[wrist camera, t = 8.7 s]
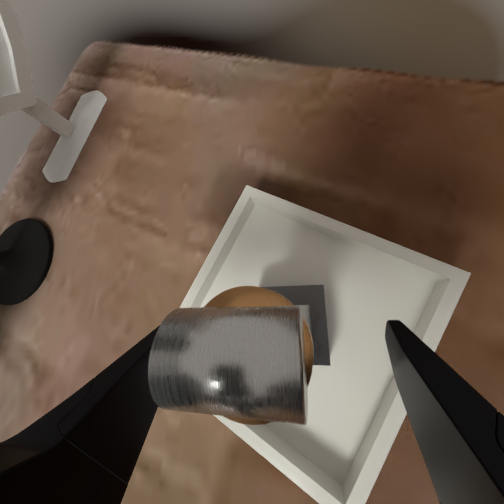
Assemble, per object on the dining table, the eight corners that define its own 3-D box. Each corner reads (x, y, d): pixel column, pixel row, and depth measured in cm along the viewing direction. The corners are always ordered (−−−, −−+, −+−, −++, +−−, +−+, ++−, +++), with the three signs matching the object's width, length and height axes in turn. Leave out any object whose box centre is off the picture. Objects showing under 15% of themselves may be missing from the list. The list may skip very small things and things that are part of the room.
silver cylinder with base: (329, 358, 16) (373, 565, 3) (259, 355, 18) (99, 499, 5) (322, 286, 17) (338, 236, 4) (258, 289, 19) (125, 255, 6)
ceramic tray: (451, 277, 16) (471, 273, 14) (347, 499, 15) (352, 531, 13) (253, 196, 21) (246, 185, 19) (167, 355, 20) (149, 361, 18)
